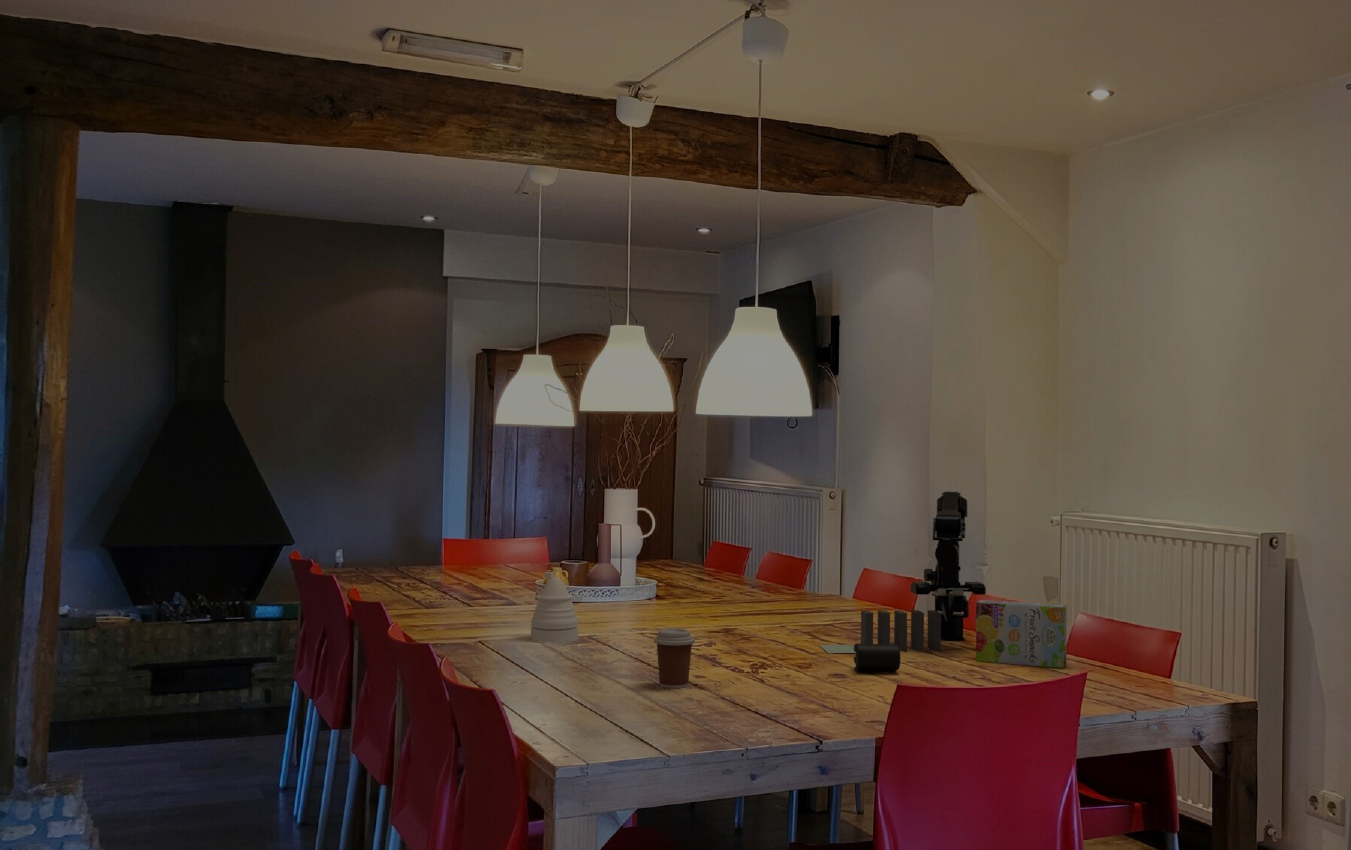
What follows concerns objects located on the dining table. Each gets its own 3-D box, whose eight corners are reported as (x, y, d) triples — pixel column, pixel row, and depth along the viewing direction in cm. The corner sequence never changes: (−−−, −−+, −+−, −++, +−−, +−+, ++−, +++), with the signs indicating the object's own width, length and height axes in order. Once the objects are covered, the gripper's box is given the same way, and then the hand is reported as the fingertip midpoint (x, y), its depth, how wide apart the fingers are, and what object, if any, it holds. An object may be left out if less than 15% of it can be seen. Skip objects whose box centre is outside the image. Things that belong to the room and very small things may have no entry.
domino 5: (868, 648, 299) (869, 610, 299) (873, 651, 294) (873, 613, 294) (860, 648, 299) (861, 610, 299) (865, 651, 294) (865, 612, 294)
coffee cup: (680, 691, 243) (681, 635, 243) (645, 686, 248) (645, 631, 248) (702, 684, 251) (702, 629, 251) (667, 679, 256) (668, 626, 256)
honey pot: (522, 640, 305) (523, 573, 305) (545, 633, 317) (546, 569, 317) (564, 644, 300) (565, 576, 300) (586, 637, 312) (587, 571, 312)
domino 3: (918, 648, 300) (918, 610, 300) (924, 651, 295) (924, 612, 295) (910, 648, 300) (911, 610, 300) (916, 651, 295) (916, 613, 295)
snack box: (1066, 665, 278) (1067, 604, 279) (1064, 669, 273) (1064, 606, 273) (978, 657, 287) (979, 598, 287) (974, 661, 282) (975, 600, 282)
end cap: (858, 675, 263) (858, 646, 264) (852, 669, 270) (852, 640, 271) (900, 675, 264) (900, 646, 264) (893, 669, 271) (893, 640, 271)
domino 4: (935, 647, 300) (935, 610, 301) (941, 651, 295) (941, 613, 296) (927, 648, 300) (927, 610, 300) (933, 651, 295) (933, 613, 295)
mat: (852, 645, 302) (852, 644, 302) (862, 653, 290) (862, 652, 290) (818, 645, 302) (818, 644, 302) (828, 654, 290) (828, 652, 290)
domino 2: (902, 648, 300) (902, 610, 300) (907, 651, 295) (907, 613, 295) (894, 648, 300) (894, 610, 300) (899, 651, 295) (899, 613, 295)
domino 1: (885, 648, 299) (885, 610, 300) (890, 651, 294) (890, 613, 295) (877, 648, 299) (877, 610, 299) (882, 651, 294) (882, 613, 294)
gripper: (972, 558, 307) (971, 616, 307) (904, 558, 306) (904, 616, 306) (986, 562, 296) (986, 622, 296) (916, 562, 295) (916, 622, 294)
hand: (947, 620), depth 298 cm, fingers closed
